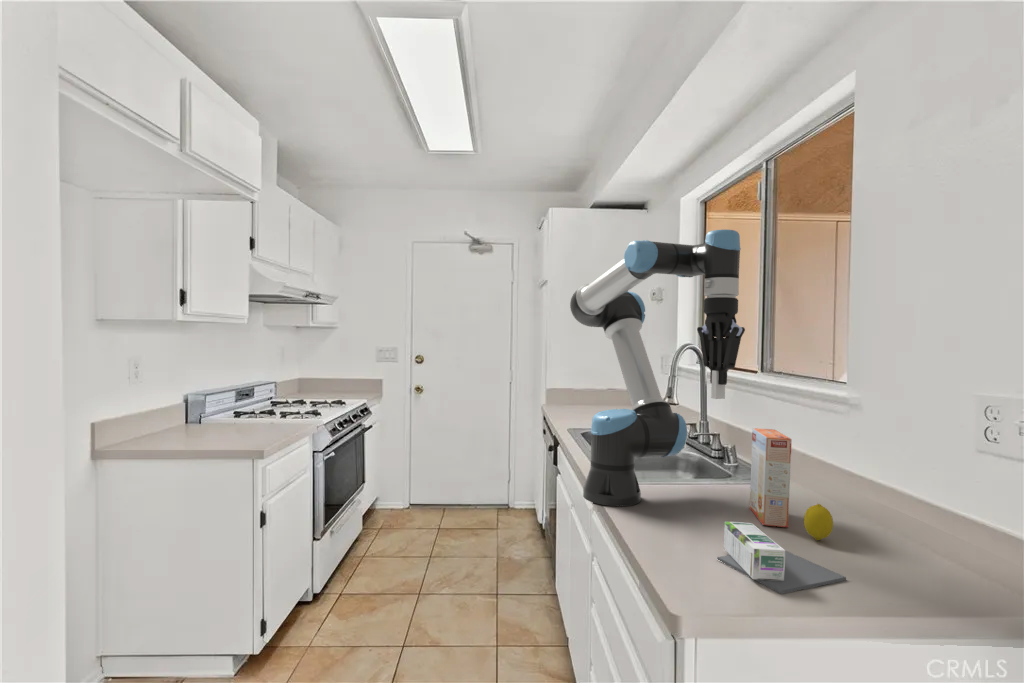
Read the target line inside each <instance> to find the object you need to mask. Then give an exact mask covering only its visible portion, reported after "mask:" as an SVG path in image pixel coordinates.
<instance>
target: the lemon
mask: <svg viewBox="0 0 1024 683" xmlns="http://www.w3.org/2000/svg"><path fill="white" fill-rule="evenodd" d="M803 516H804V518H803V525H804V528H805V531H806V533H808V535H810V536H811V537H812V538H814V540H815V541H817V540H820V541H821V540H823V539H826V538H827V537H829V536H830V535H831V533H832V532H833V529H834V520H833V516H832V514H831V512H830V511H829V509H827V508H826V507H825V506H823V505H822V504H820V503H817V504H814V505H811V506H810V507H808V508H807V509H806V511H805V513H804V515H803Z"/></svg>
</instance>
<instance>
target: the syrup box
mask: <svg viewBox="0 0 1024 683" xmlns="http://www.w3.org/2000/svg"><path fill="white" fill-rule="evenodd" d="M723 531H724V532H723V533H724V534H723V535H724V537H723V538H724V539H723V541H724V542H723V549H724V550H725V552H726V553H727V554H728V555H730V556H731V557H732V558H733V559H734V560H735V561H736V562H737V563H738V564H739V565H740V566H741V567H742V568H743V569H744V570H745V571H746V572H747V573H748V574H749V575H750V577H751V578H750V577H749V578H750V579H752V580H754V579H761V580H771V581H772V580H773V581H784V571H785V549H784V548H783V547H781V545H780V544H778V543H777V542H775V541H774V540H773V539H772V538H770V536H768V535H767V534H766V533H765V532H763V531H762V530H761V529H759V528H758V527H757V526H756V525H755V524H754V523H752V522H741V521H740V522H739V521H724V530H723Z"/></svg>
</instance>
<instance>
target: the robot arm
mask: <svg viewBox="0 0 1024 683" xmlns="http://www.w3.org/2000/svg"><path fill="white" fill-rule="evenodd" d="M740 238H741V237H740V233H739V231H737V230H734V229H726V228H725V229H724V228H723V229H714V230H710V231H708V232H707V233H706V235H705V240H704V243H700V244H694V245H692V244H681V243H669V242H659V241H651V240H648V239H646V240H632V241H630V242H629V244H627V248H625V250H624V255H623V259H621V260H620V261H619V262H616V264H615V265H613V266H612V267H611V268H609V269H608V270H607V271H606V272H604V273H603V274H601V275H600V276H599V277H598V278H596V279H594V281H592V282H590V283H585V284H583V285H581V286H580V287H579V288H577V290H575V292H573V294H572V296H571V298H570V303H569V305H570V306H569V308H570V312H571V314H572V316H573V318H574V319H575V320H576V321H577V323H578V322H579V324H581V325H583V326H586V327H591V328H592V327H593V328H602V329H603V331H604V335H605V337H606V338H608V339H609V340H611V341H612V344H613V347H614V350H615V354H616V357H617V360H618V364H619V367H620V372H621V374H622V378H623V380H624V384H625V388H626V390H627V393H628V396H629V400H630V403H631V406H632V408H630V409H629V408H619V409H618V408H611V409H606V410H602V411H599V412H596V413H595V414H594V415H593V417H592V420H591V427H590V435H591V437H590V469H589V470H588V471H589V472H588V475H587V476H586V480H585V482H584V486H583V491H582V497H583V498H584V499H585V500H586V501H588V502H591V503H594V504H597V505H603V506H609V507H610V506H611V507H629V506H634V505H638V504H639V503H640V502H641V501H642V500H641V496H642V495H641V494H642V493H641V489H640V488H641V487H640V485H639V482H638V478H637V475H636V474H637V473H636V471H635V469H636V466H635V463H636V459H640V458H641V459H642V458H644V459H645V458H659V457H661V458H666V457H671V456H676V455H678V454H680V453H681V452H682V451H683V449H684V447H685V445H686V441H687V438H688V426H687V423H686V420H685V418H684V417H683V415H681V414H680V413H677V412H673V410H672V408H671V404H670V402H668V401H666V400H664V399H663V397H662V395H661V392H660V389H659V386H658V383H657V380H656V376H655V374H654V371H653V367H652V365H651V362H650V359H649V355H648V353H647V350H646V347H645V345H644V340H643V338H642V334H641V332H640V331H641V329H642V327H643V325H644V323H645V319H646V314H645V312H646V306H645V303H644V300H643V299H642V298H641V296H640V295H639V294H637V293H636V292H634V291H631V290H632V289H633V288H635V287H637V285H639V284H640V283H642V282H643V281H645V280H646V279H648V278H650V277H651V276H653V275H655V274H658V275H661V274H662V275H673V276H674V275H676V276H677V277H679V278H693V277H699V276H704V286H703V287H704V292H703V293H704V294H703V295H704V296H705V297H706V298H704V300H703V313H704V314H705V315H706V317H705V319H704V324H703V325H702V326H698V327H697V328H696V330H697V333H698V336H699V339H700V340H699V342H700V346H701V354H702V356H701V357H702V363H703V367H705V368H708V369H709V370H710V375H709V376H710V378H709V379H710V380H709V382H710V384H711V390H710V391H711V392H710V393H711V394H710V397H711V398H710V399H715V400H721V399H722V400H723V399H725V398H726V385H727V383H728V371H729V370H731V369H735V367H736V364H737V358H738V354H739V349H740V344H741V341H742V337H743V335H744V334H745V332H746V329H745V327H744V326H742V327H741V326H740V325H739V324H737V319H736V315H737V314H738V313H739V299H738V298H737V297H738V296H739V288H740V286H739V284H740V281H739V280H740V277H739V276H740V258H741V256H740V255H741V249H742V248H741V240H740Z"/></svg>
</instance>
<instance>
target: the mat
mask: <svg viewBox="0 0 1024 683" xmlns="http://www.w3.org/2000/svg"><path fill="white" fill-rule="evenodd" d="M784 550H785V549H784ZM717 559H718V560H720V561H722V562H723V563H722V562H721V563H722V564H724V563H725V564H727V565H728V566H727V565H726V566H727V567H729V566H731V567H732V569H733V568H734V569H733V570H735V569H736V570H735V571H737V572H739V573H741V574H742V575H744V574H745V576H746V575H747V576H746V577H748V576H749V577H748V578H750V579H752V578H751V577H750V575H749V574H748V573H747V572H746V571H745V570H744V569H743V568H742V567H741V566H740V565H739V564H738V563H737V562H736V561H735V560H734V559H733V558H732V557H731V556H730V555H729V554H727V555H722V556H717V558H716V560H717ZM718 560H717V561H718ZM720 561H719V562H720ZM725 564H724V565H725ZM731 567H730V568H731ZM753 580H754V581H755V582H757V583H760V584H761V585H764V586H766V587H767V588H769V589H771V590H773V591H775V592H777V593H779V594H780V595H782V594H783V595H785V594H789V593H792V592H797V590H798V591H802V590H801V589H803V590H807V589H811V588H815V587H821V586H826V585H829V584H830V585H831V584H834V583H840V582H845V581H847V576H845V575H843V574H841V573H838V572H836V571H834V570H831V569H829V568H827V567H825V566H823V565H820V564H817V563H815V562H813V561H811V560H809V559H806V558H804V557H802V556H799V555H797V554H795V553H792V552H790V551H787V550H785V571H784V581H773V580H772V581H771V580H761V579H753ZM788 592H789V593H788Z"/></svg>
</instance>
